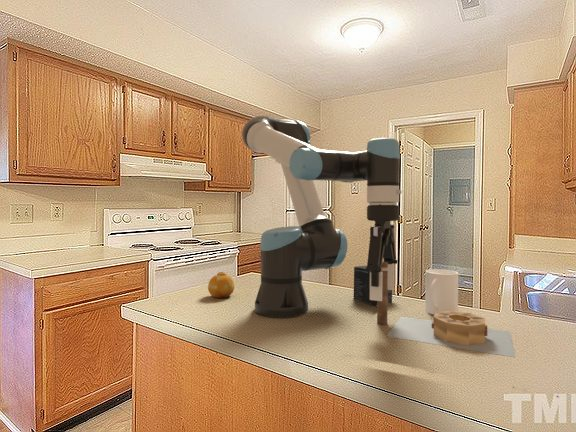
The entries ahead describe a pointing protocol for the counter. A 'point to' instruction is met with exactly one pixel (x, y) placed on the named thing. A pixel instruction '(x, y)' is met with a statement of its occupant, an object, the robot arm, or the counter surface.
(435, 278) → the mug
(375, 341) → the counter surface
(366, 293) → the box
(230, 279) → the fruit
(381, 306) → the brown cigar
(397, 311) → the counter surface
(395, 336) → the board
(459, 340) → the bead
